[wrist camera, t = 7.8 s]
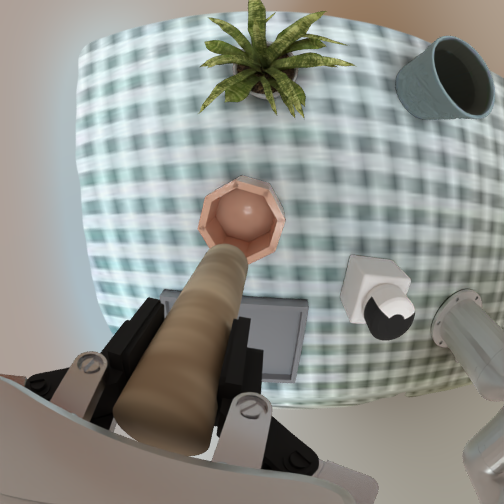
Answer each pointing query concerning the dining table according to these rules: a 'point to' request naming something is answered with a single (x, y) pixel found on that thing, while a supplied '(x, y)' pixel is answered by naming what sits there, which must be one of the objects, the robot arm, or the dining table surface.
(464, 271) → the dining table surface
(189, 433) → the dowel
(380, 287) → the medicine bottle
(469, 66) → the blue-grey plant pot
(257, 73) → the house plant
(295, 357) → the tray
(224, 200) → the cup
